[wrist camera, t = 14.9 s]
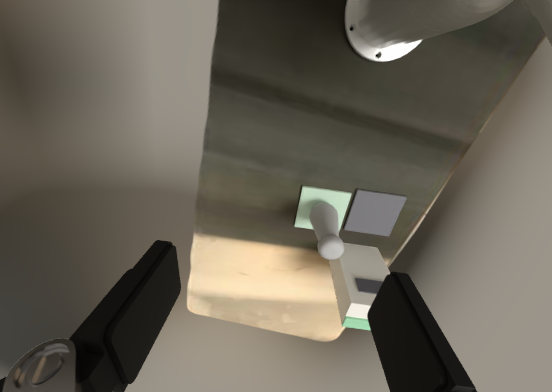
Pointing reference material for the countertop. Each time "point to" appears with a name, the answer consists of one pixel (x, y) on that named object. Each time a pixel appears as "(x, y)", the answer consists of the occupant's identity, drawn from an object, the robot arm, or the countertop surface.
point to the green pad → (315, 196)
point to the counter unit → (357, 282)
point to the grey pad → (374, 212)
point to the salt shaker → (327, 230)
